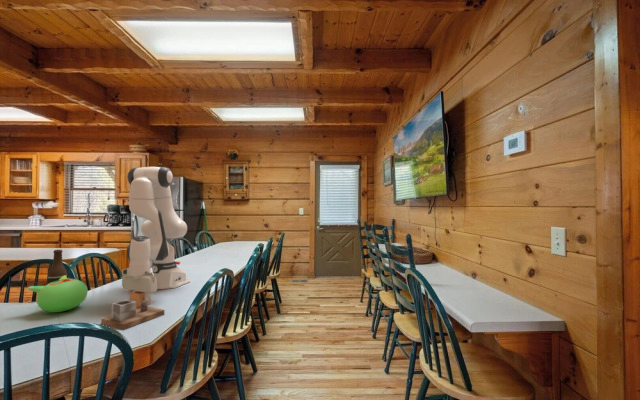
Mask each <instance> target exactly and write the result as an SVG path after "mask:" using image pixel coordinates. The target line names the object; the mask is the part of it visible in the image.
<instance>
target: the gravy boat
mask: <svg viewBox="0 0 640 400" xmlns="http://www.w3.org/2000/svg"><path fill="white" fill-rule="evenodd" d="M27 290H29V291H31V292H35V293H37V295H36V304H37V305H38V307H39V309H41V310H43V311H45V312H48V313H61V312H66V311H70V310H72V309H74V308H76V307H77V306H79V305H81V304H82V303H83V302H84V301H85V300H86V298H87V295H88V286H87V284H85V282H83V281H81V280H79V279H77V278H68V275H67V276H66V275H64V276H62V277H61V278H60V279H59V280H57V281H54V282H51V283H49V284H48V283H46V285H31V286H28V287H27Z"/></svg>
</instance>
